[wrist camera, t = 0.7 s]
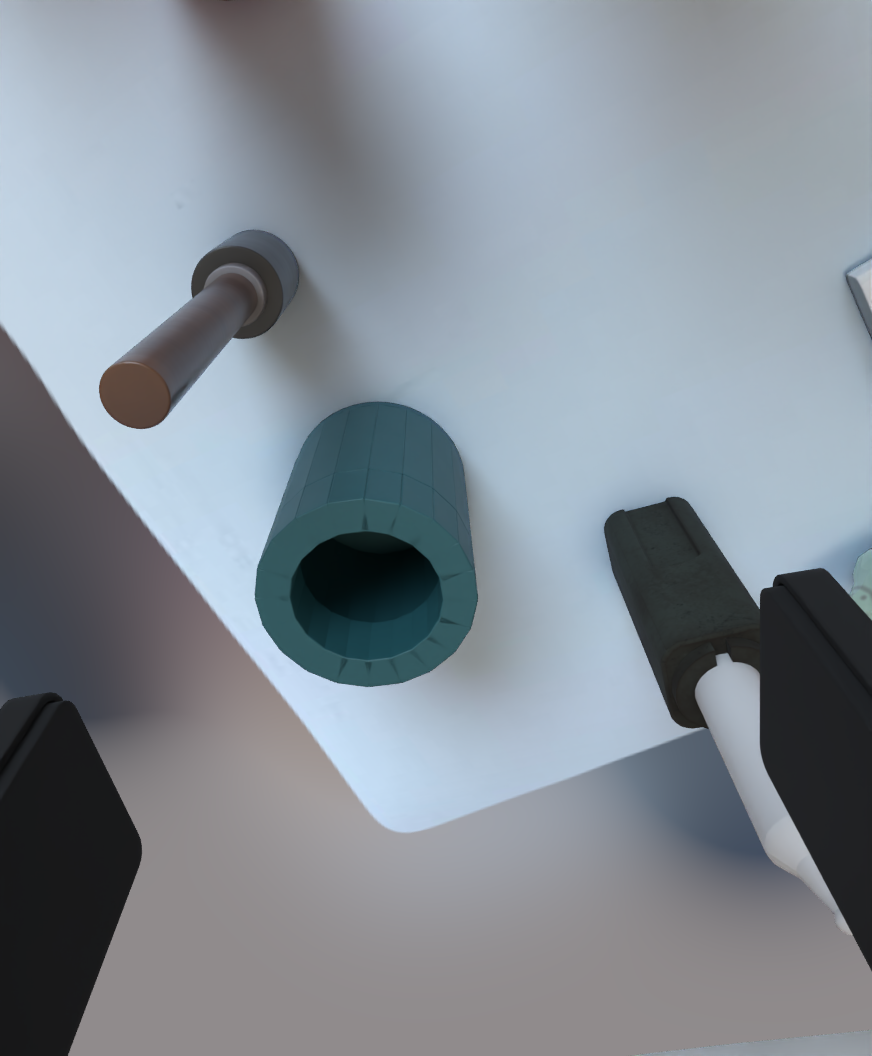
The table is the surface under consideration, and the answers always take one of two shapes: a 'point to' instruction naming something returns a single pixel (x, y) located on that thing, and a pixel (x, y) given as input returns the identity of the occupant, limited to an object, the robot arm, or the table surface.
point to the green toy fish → (863, 583)
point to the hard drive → (862, 290)
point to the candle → (706, 657)
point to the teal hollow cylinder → (371, 550)
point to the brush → (202, 326)
